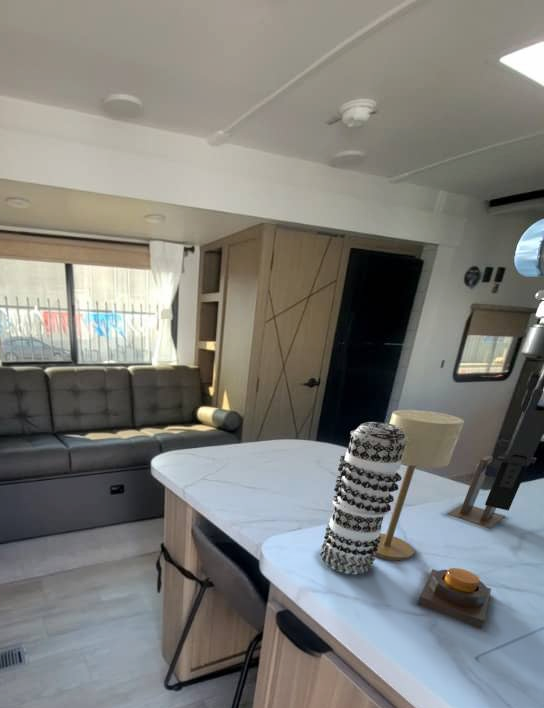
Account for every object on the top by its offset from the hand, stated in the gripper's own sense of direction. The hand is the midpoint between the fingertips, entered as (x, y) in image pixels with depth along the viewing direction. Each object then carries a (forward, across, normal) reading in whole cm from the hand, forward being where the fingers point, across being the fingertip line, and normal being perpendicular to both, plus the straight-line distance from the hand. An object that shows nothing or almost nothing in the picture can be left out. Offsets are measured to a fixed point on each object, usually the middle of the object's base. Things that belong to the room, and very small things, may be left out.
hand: (496, 506), depth 57 cm
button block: (+16, +3, -1) cm, 16 cm away
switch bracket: (+16, -36, -1) cm, 40 cm away
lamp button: (+12, +3, -1) cm, 13 cm away
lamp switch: (+4, -41, 0) cm, 41 cm away
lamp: (+16, -7, -13) cm, 22 cm away
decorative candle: (+16, +3, -17) cm, 23 cm away
